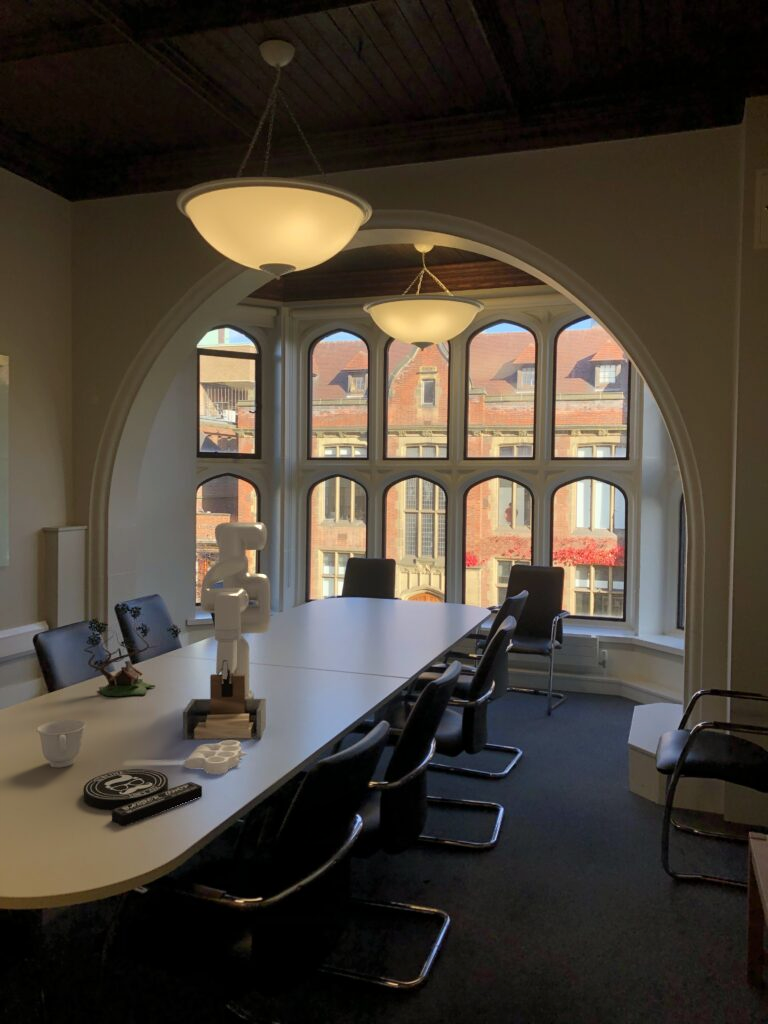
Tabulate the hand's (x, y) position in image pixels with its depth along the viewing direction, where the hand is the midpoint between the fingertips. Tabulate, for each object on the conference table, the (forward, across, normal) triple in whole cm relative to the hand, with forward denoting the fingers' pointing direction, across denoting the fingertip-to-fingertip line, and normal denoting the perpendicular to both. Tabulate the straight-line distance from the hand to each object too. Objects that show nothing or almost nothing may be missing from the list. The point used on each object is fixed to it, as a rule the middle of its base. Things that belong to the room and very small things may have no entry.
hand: (227, 694), depth 240 cm
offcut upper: (+7, +7, +1) cm, 10 cm away
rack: (+11, +5, 0) cm, 12 cm away
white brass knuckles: (+11, +26, +1) cm, 28 cm away
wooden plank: (+9, 0, 0) cm, 9 cm away
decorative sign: (+11, +49, -15) cm, 52 cm away
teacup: (+11, +28, -39) cm, 49 cm away
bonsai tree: (+12, -41, -39) cm, 58 cm away
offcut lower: (+10, +7, 0) cm, 12 cm away
